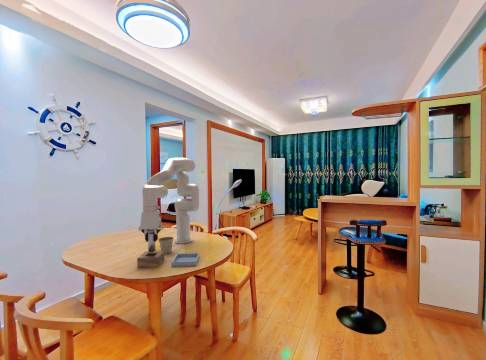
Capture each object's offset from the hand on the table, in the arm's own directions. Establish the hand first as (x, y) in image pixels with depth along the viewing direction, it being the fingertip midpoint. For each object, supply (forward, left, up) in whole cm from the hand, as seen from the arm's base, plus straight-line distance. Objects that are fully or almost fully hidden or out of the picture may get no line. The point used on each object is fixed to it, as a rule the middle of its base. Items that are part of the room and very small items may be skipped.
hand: (151, 240), depth 127 cm
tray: (0, +19, -13) cm, 23 cm away
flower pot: (-17, +3, -13) cm, 22 cm away
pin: (0, 0, -6) cm, 6 cm away
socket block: (0, 0, -13) cm, 13 cm away
